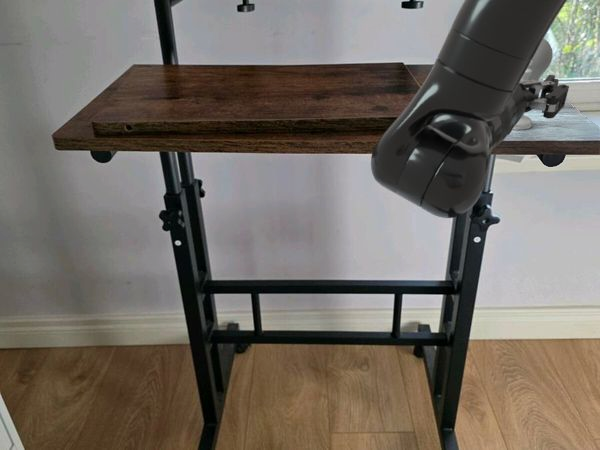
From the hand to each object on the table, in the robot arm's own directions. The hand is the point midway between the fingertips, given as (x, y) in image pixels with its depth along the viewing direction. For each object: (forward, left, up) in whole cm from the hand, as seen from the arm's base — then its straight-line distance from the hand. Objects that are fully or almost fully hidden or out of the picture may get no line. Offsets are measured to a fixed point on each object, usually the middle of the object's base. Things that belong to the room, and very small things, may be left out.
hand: (517, 77), depth 73 cm
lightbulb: (+1, -12, -8) cm, 15 cm away
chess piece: (0, -4, -8) cm, 9 cm away
